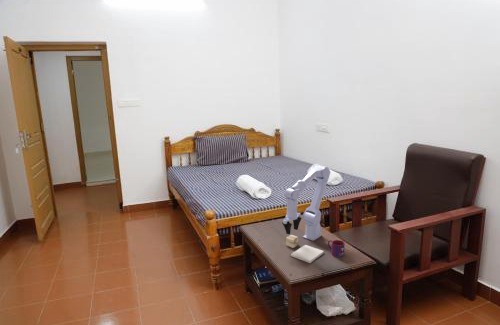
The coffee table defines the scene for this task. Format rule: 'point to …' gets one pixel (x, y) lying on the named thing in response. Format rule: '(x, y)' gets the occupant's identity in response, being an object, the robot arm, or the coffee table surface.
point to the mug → (337, 248)
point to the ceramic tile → (307, 253)
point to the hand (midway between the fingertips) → (292, 231)
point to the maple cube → (292, 241)
